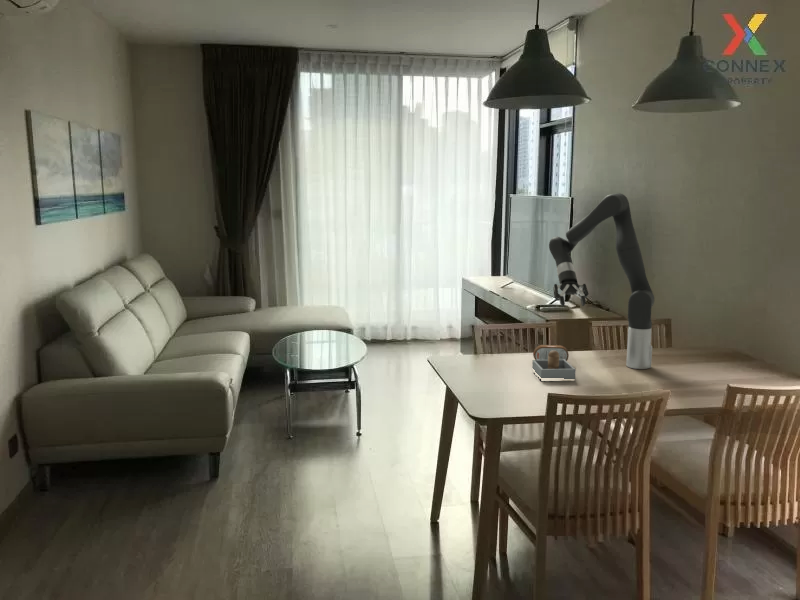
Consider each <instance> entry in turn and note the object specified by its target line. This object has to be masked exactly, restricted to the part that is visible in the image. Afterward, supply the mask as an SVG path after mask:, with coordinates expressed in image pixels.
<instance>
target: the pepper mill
mask: <svg viewBox="0 0 800 600" xmlns="http://www.w3.org/2000/svg"><path fill="white" fill-rule="evenodd" d="M548 369H559V353H558V352H557V351H555V350H552V351H550V352H549V354H548Z"/></svg>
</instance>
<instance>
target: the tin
mask: <svg viewBox="0 0 800 600" xmlns="http://www.w3.org/2000/svg"><path fill="white" fill-rule="evenodd" d="M552 350H555V351H557V352H558V353H559V360H566V361H567V362H568V360H569V355H570V354H569V350H568V348H566V347H565V346H563V345H560V344H558V345H556V344H554V345H553V344H540V345H538V346H536V347H535V348H534V350H533V353H532V355H533V356H532V357H533V360H548V354H549V352H550V351H552Z"/></svg>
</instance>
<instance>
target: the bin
mask: <svg viewBox="0 0 800 600" xmlns="http://www.w3.org/2000/svg"><path fill="white" fill-rule="evenodd" d="M531 367H532V368H533V369H534V370H535V372H536V373H537V374H538V375H539V376H540V377H541V378H564V379H575V380H576V368H575V367H573V365H572V364H571V363H569V362H568V360H567V361H566V360H559V369H548V360H535V359H533V360H532V364H531ZM532 368H531V369H532Z"/></svg>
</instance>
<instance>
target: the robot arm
mask: <svg viewBox="0 0 800 600" xmlns="http://www.w3.org/2000/svg"><path fill="white" fill-rule="evenodd" d="M630 207H631V206H630V202H629V199H628V198H627V195H625V194H624V193H621V192H617V193H611V194H608V195H605V196H604V197H603V198H602V200H601V201H600V202H599V203H598V204H597V205H596V206H595V207H594V208H593V209H592V210H591V211H590V212H589V213H588V214H587V215H586V216H585V217H583V218H582V219H580V221H578V222H577V223H576V224H574V225H573V226H572V227H570V228H569V229H568V230H567V231H566V232H565V238H566V239H564V238H562V237H560V236H553V237H552V238H551V239H550V240H549V243H548V249H549V251H550V253H551V257H552V258H553V259H554V261H555V264H556V273H557V278H558V281H559V285H558V284H557V283H554V285H553V287H552V288H553V289H552V291H553V296H554V299H558V300H559V303H560V306H561V307H565V305H566V302H565V298H564V297H565V295H567V296H570V295H571V296H572V295H573V296H576V297H578V298H579V299H580V303H581V307H584V306H585V305H586V304H587V301H586V299H587V298H588V296H589V291H588V287H587V285H586V283H583V284H579V283H578V282H579V281H578V279H577V278H578V277H577V275H576V268H575V267H574V264H573V260H572V256H571V255H570V254H571V253H572V251H573V250H574V249H575V248H576V246H578V243H579V242H581V241H582V240H584V238H586V237H588V235H590V234H591V233H592V231H594V230H595V229H596V227H597V226H598V225H599V224H600V223H602V222H603V221H605V220H608V219H609V218H612V219H613V221H614V224H615V251H616V254H617V258H618V262H619V264H620V266H621V269H622V270H623V272H624V274H625V275H626V277H627V279H628V282H629V285H630V290H631V291H630V292H631V294H630V296H629V298H628V305H627V321H628V322H627V323H628V328H627V329H628V331H627V347H626V348H627V349H626V367H628V368H630V369H636V370H646V369H651V368H652V356H653V345H652V344H651V343H652V327H653V326H652V325H653V324H652V323H653V322H652V308H653V306H654V304H655V296H654V293H653V291H652V287H651V285H650V283H649V280H648V277H647V275H646V269H645V264H644V260H643V256H642V251H641V248H640V245H639V241H638V239H637V234H636V231H635V227H634V224H633V219H632V213H631V208H630ZM559 290H560V291H561V293H559Z"/></svg>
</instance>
